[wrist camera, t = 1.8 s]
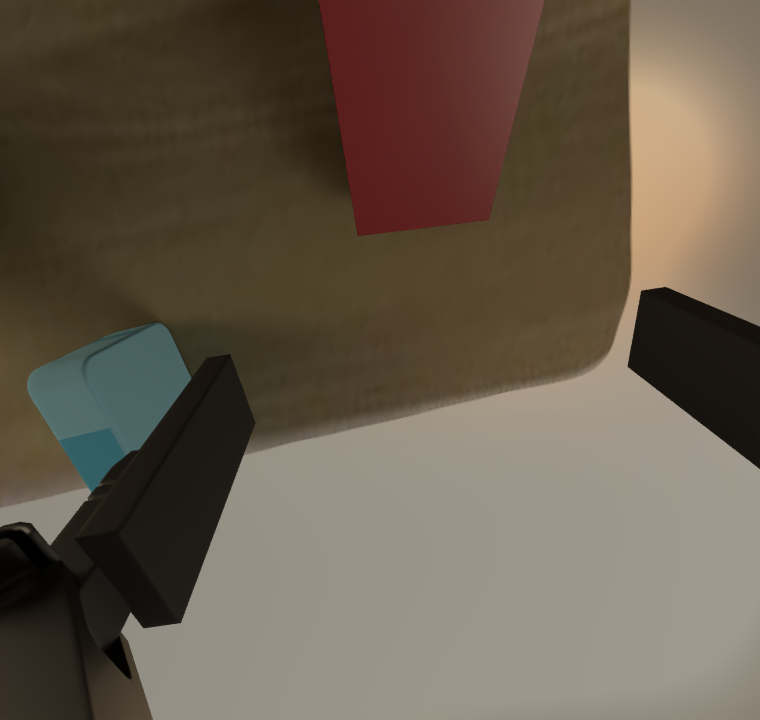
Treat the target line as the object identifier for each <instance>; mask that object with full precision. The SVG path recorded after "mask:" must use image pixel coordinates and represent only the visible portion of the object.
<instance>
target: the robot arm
mask: <svg viewBox="0 0 760 720" xmlns="http://www.w3.org/2000/svg"><path fill="white" fill-rule="evenodd" d="M628 367H629V368H630V369H631V370H633V371H634V372H635V373H637V374H638V375H639V376H640V377H642V378H643V379H644V380H645V381H647V382H648V383H649V384H651V385H652V386H653V387H655V388H656V389H657V390H658V391H660V392H661V393H662V394H664V395H665V396H666V397H667V398H669V399H670V400H671V401H673V402H674V403H675V404H676V405H678V406H679V407H680V408H682V409H683V410H684V411H685V412H687V413H688V414H689V415H691V416H692V417H693V418H695V419H696V420H697V421H698V422H700V423H701V424H702V425H704V426H705V427H706V428H708V429H709V430H710V431H711V432H713V433H714V434H715V435H717V436H718V437H719V438H720V439H722V440H723V441H724V442H726V443H727V444H728V445H729V446H731V447H732V448H733V449H735V450H736V451H737V452H739V453H740V454H741V455H743V456H744V457H745V458H746V459H748V460H749V461H750V462H752V463H753V464H754V465H755V466H757V467H758V468H759V469H760V327H759V326H757V325H755V324H752V323H750V322H748V321H745V320H743V319H741V318H738V317H736V316H733V315H731V314H729V313H726V312H724V311H722V310H719V309H717V308H714V307H712V306H710V305H707V304H705V303H702V302H700V301H698V300H695V299H693V298H690V297H688V296H686V295H683V294H681V293H679V292H676V291H674V290H672V289H669V288H667V287H662V288H656V289H649V290H643V291H641V295H640V300H639V306H638V312H637V317H636V323H635V329H634V334H633V339H632V345H631V350H630V356H629V362H628ZM254 426H255V420H254V418H253V415H252V412H251V409H250V407H249V404H248V401H247V399H246V396H245V393H244V390H243V388H242V385H241V382H240V379H239V377H238V374H237V371H236V368H235V366H234V363H233V360H232V357H231V355H230V354H228V355H221V356H215V357H208V358H206V360H205V361H204V362H203V364H202V365H201V366H200V368H199V369H198V370H197V372H196V373H195V374H194V376H193V377H192V379H191V380H190V381H189V383H188V384H187V385H186V387H185V388H184V389H183V391H182V392H181V393H180V395H179V396H178V398H177V399H176V400H175V402H174V403H173V404H172V406H171V407H170V408H169V410H168V411H167V413H166V414H165V415H164V417H163V418H162V419H161V421H160V422H159V423H158V425H157V426H156V427H155V429H154V430H153V432H152V433H151V434H150V436H149V437H148V438H147V440H146V441H145V442H144V444H143V445H142V447H141V448H140V449H139V450H134V451H131V452H129V453H128V454H127V455H126V456H125V457H123V458H122V459H121V460H120V461H118V462H117V463H116V464H115V465H113V466H112V467H111V469H110V470H109V471H108V472H107V474H106V475H105V476H104V478H103V479H102V480H101V481H100V483H99V487H96V488H95V489H94V490H93V492H92V493H91V494H90V496H89V497H88V501H85V502H84V503H83V504H82V506H81V507H80V508H79V510H78V511H77V512H76V513H75V515H74V516H73V517H72V519H71V520H70V521H69V523H68V524H67V525H66V526H65V528H64V529H63V530H62V531H61V533H60V534H59V535H58V536H57V538H56V539H55V540H54V541H53V543H52V544H51V545H50V546H49V544H47V542H46V541H45V540H44V538H43V537H42V536H41V535H40V534H39V532H38V531H37V530H36V529H35V528H34V526H33V525H32V524H31V523H25V522H17V523H13V524H9V525H4V526H2V527H0V720H153V719H152V715H151V712H150V709H149V706H148V703H147V700H146V697H145V693H144V690H143V687H142V684H141V681H140V678H139V674H138V671H137V669H136V665H135V662H134V659H133V656H132V652H131V649H130V646H129V643H128V641H127V639H126V638H125V637H124V635H123V634H122V633H121V630H122V628H123V626H124V624H125V622H126V620H127V618H128V616H129V614H130V612H131V613H132V614H133V615H134V616H135V618H136V619H137V620H138V622H139V623H140V624H141V626H142V627H143V628H149V627H156V626H163V625H170V624H177V623H181V621H182V618H183V616H184V613H185V610H186V607H187V605H188V602H189V599H190V597H191V594H192V591H193V589H194V586H195V583H196V581H197V578H198V576H199V573H200V570H201V567H202V565H203V562H204V559H205V557H206V554H207V551H208V549H209V546H210V543H211V541H212V538H213V535H214V533H215V530H216V527H217V525H218V522H219V519H220V517H221V514H222V511H223V509H224V506H225V503H226V501H227V498H228V495H229V493H230V490H231V487H232V484H233V481H234V479H235V476H236V473H237V471H238V468H239V466H240V463H241V460H242V457H243V455H244V452H245V450H246V447H247V444H248V442H249V439H250V436H251V434H252V431H253V428H254Z"/></svg>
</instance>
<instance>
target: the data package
mask: <svg viewBox="0 0 760 720" xmlns="http://www.w3.org/2000/svg"><path fill="white" fill-rule="evenodd" d="M190 380H191V377H190V374H189V372H188V370H187V368H186V366H185V364H184V362H183V359H182V357H181V355H180V353H179V351H178V349H177V347H176V344H175V342H174V340H173V338H172V336H171V334H170V332H169V330H168V329H167V328H166V327H165V326H164V325H163V324H161V323H159V322H153V323H149V324H145V325H141V326H138V327H134V328H130V329H126V330H122V331H119V332H115V333H112V334H110V335H108V336H106V337H103V338H101V339H99V340H97V341H95V342H93V343H90V344H88V345H86V346H84V347H82V348H80V349H77V350H75V351H73V352H71V353H69V354H67V355H65V356H62V357H60V358H58V359H56V360H54V361H52V362H49V363H47V364H45V365H43V366H41V367H39V368H37V369H35V370H34V371H33V372H32V373H31V375H30V376H29V379H28V383H27V387H28V392H29V395H30V397H31V399H32V400H33V402H34V403H35V405H36V407H37V408H38V410H39V411H40V413H41V414H42V416H43V417H44V419H45V421H46V422H47V424H48V425H49V427H50V428H51V430H52V432H53V433H54V435H55V436H56V438H57V439H58V441H59V443H60V444H61V446H62V447H63V449H64V450H65V452H66V453H67V455H68V457H69V458H70V460H71V461H72V463H73V464H74V466H75V468H76V469H77V471H78V472H79V474H80V475H81V477H82V479H83V480H84V482H85V483H86V485H87V486H88V488H89V489H90V491H91V493H92V492H93V490H94V489H95V488H96V487H99V483H100V481H101V480H102V479H103V478H104V476H105V475H106V474H107V472H108V471H109V470H110V469H111V467H112V466H113V465H115V464H116V463H117V462H118V461H120V460H121V459H122V458H123V457H125V456H126V455H127V454H128V453H129V452H131V451H134V450H139V449H140V448H141V447H142V445H143V444H144V442H145V441H146V440H147V438H148V437H149V436H150V434H151V433H152V432H153V430H154V429H155V427H156V426H157V425H158V423H159V422H160V421H161V419H162V418H163V417H164V415H165V414H166V413H167V411H168V410H169V408H170V407H171V406H172V404H173V403H174V402H175V400H176V399H177V398H178V396H179V395H180V393H181V392H182V391H183V389H184V388H185V387H186V385H187V384H188V383H189V381H190Z"/></svg>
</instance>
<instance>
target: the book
mask: <svg viewBox="0 0 760 720" xmlns="http://www.w3.org/2000/svg"><path fill="white" fill-rule="evenodd" d="M318 1H319V7H320V13H321V19H322V25H323V31H324V37H325V43H326V49H327V55H328V61H329V67H330V73H331V79H332V85H333V91H334V97H335V103H336V109H337V115H338V121H339V127H340V133H341V139H342V145H343V151H344V157H345V163H346V169H347V175H348V181H349V187H350V193H351V199H352V205H353V211H354V217H355V223H356V228H357V234H358V236H362V235H370V234H378V233H386V232H394V231H402V230H410V229H418V228H426V227H434V226H442V225H450V224H458V223H466V222H474V221H482V220H489V216H490V212H491V208H492V204H493V200H494V197H495V193H496V189H497V185H498V181H499V177H500V173H501V169H502V165H503V161H504V158H505V154H506V150H507V146H508V142H509V138H510V134H511V130H512V126H513V123H514V119H515V115H516V111H517V107H518V103H519V99H520V95H521V91H522V87H523V84H524V80H525V76H526V72H527V68H528V64H529V60H530V56H531V52H532V48H533V45H534V41H535V37H536V33H537V29H538V25H539V21H540V17H541V13H542V10H543V6H544V2H545V0H318Z"/></svg>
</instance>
